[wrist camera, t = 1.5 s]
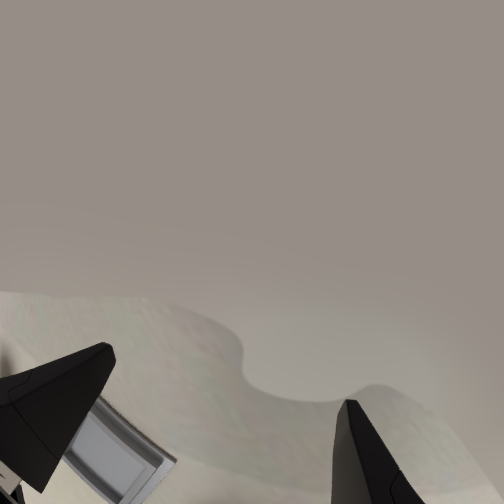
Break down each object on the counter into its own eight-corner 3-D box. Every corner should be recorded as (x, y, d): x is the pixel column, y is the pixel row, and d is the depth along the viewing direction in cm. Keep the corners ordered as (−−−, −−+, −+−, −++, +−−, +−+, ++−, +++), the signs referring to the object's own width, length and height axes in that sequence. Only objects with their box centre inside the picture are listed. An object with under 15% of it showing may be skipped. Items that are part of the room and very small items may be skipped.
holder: (132, 513, 18) (125, 520, 16) (60, 447, 21) (50, 450, 19) (176, 461, 20) (168, 469, 18) (89, 386, 23) (78, 388, 21)
